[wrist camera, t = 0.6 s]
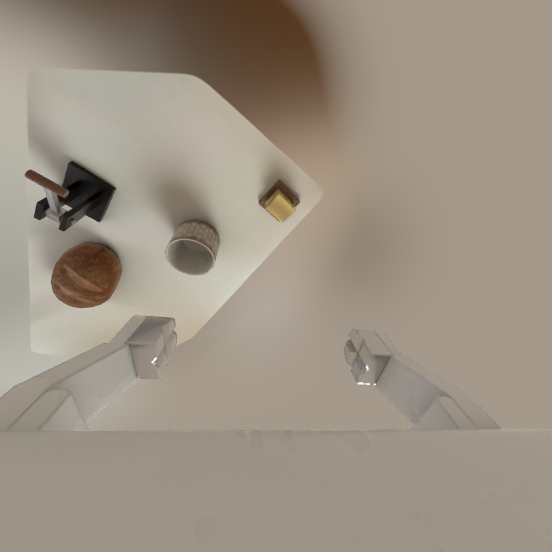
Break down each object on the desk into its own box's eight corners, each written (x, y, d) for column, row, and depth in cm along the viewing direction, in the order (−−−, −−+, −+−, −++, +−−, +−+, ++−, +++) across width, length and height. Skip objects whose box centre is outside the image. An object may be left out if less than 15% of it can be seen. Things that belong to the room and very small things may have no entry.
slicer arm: (33, 166, 33) (21, 175, 32) (70, 187, 36) (60, 196, 35) (47, 205, 43) (38, 213, 42) (75, 219, 46) (68, 227, 45)
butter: (279, 179, 51) (280, 187, 48) (299, 200, 56) (302, 208, 52) (258, 201, 55) (258, 210, 51) (279, 219, 59) (280, 228, 56)
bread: (133, 256, 65) (116, 281, 57) (109, 301, 79) (92, 326, 71) (74, 229, 57) (43, 253, 49) (59, 284, 72) (33, 310, 64)
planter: (180, 251, 65) (170, 273, 58) (173, 215, 57) (160, 236, 49) (220, 255, 67) (215, 277, 60) (219, 221, 59) (213, 241, 51)
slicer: (72, 160, 46) (25, 180, 37) (116, 188, 51) (84, 211, 41) (61, 198, 52) (18, 223, 42) (101, 220, 56) (71, 247, 47)
